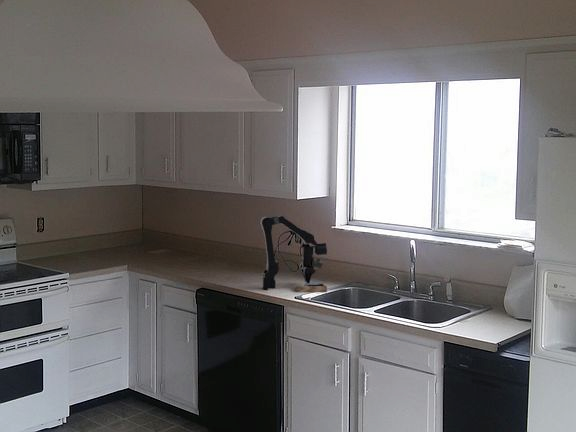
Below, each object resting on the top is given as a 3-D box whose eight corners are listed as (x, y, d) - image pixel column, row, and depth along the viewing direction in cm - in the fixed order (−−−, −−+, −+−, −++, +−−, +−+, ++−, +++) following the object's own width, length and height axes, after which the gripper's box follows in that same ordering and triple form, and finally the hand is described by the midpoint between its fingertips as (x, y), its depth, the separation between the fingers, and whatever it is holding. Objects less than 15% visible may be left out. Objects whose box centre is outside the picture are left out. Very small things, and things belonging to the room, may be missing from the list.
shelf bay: (297, 292, 400) (298, 286, 399) (295, 288, 411) (295, 283, 411) (326, 292, 401) (326, 286, 401) (323, 288, 413) (323, 283, 413)
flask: (306, 284, 406) (304, 282, 416) (307, 290, 406) (304, 287, 416) (323, 283, 407) (320, 281, 417) (323, 288, 407) (320, 286, 417)
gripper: (325, 257, 409) (324, 286, 410) (319, 252, 427) (318, 279, 429) (305, 257, 407) (304, 286, 409) (299, 252, 426) (299, 279, 427)
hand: (307, 282), depth 419 cm, fingers open, 6 cm apart
